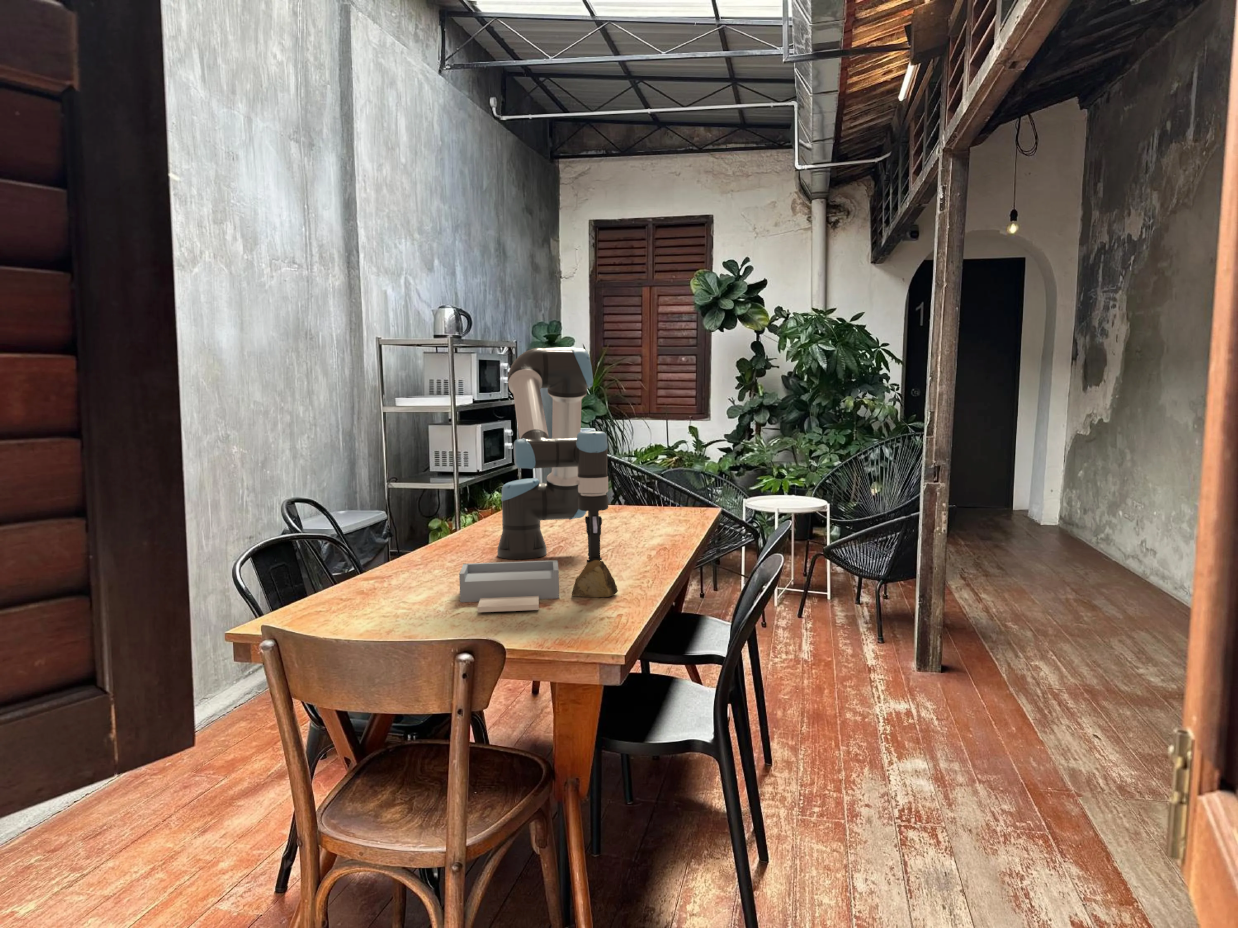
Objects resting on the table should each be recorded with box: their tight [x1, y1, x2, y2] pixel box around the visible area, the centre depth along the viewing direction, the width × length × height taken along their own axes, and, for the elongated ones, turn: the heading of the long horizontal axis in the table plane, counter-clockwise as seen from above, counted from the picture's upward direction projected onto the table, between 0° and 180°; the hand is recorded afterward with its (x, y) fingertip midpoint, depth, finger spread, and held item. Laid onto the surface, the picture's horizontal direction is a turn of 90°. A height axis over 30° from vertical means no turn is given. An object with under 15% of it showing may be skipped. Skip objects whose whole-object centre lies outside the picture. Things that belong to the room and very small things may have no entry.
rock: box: [571, 560, 619, 598], centre depth 209 cm, size 11×9×10 cm
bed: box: [458, 559, 560, 603], centre depth 212 cm, size 12×24×7 cm, turn 96°
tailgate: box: [476, 596, 540, 613], centre depth 199 cm, size 1×14×11 cm
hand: (594, 587), depth 212 cm, fingers closed
